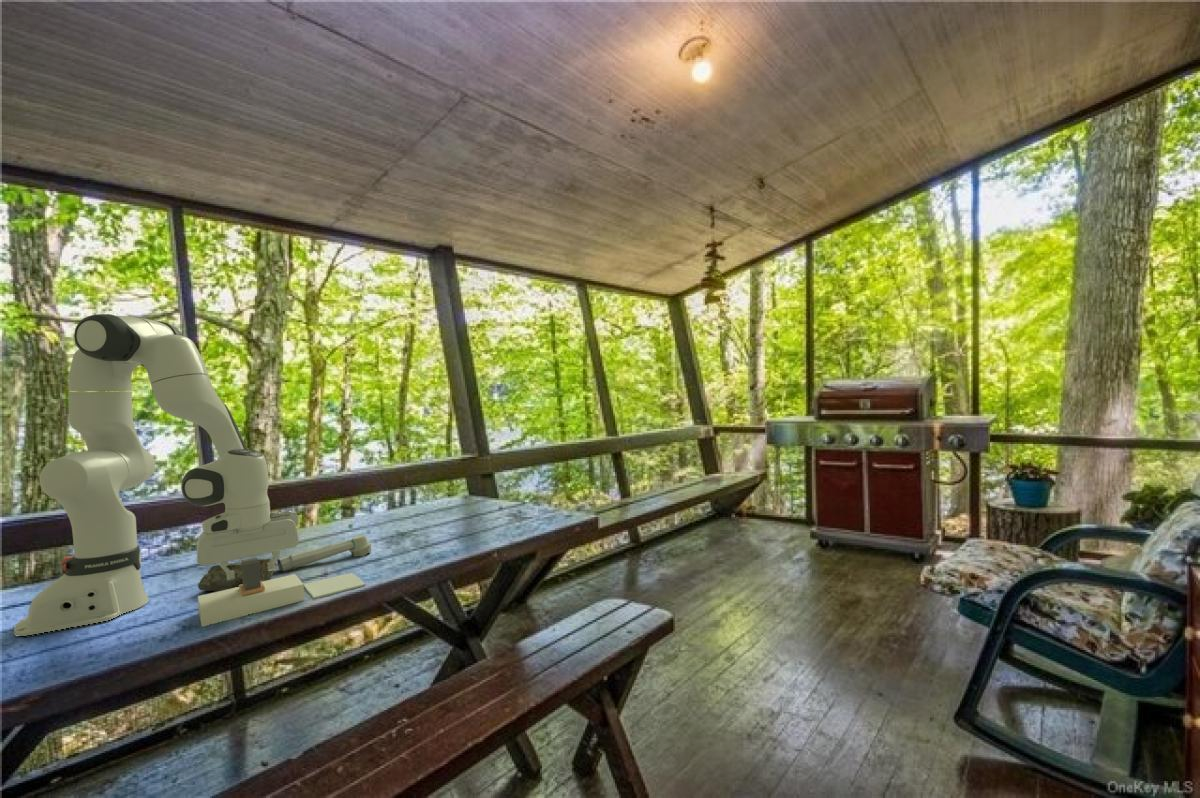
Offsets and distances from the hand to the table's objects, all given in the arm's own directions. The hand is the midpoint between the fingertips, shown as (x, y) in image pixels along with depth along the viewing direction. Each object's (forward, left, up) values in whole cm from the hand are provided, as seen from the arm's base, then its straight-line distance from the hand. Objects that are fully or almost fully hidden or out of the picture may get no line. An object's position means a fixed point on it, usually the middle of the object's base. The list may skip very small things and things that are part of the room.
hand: (251, 574), depth 124 cm
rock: (-1, +21, -8) cm, 22 cm away
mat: (+18, 0, -8) cm, 20 cm away
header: (0, 0, -8) cm, 8 cm away
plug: (0, 0, -8) cm, 8 cm away
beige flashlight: (+22, +24, -8) cm, 34 cm away
